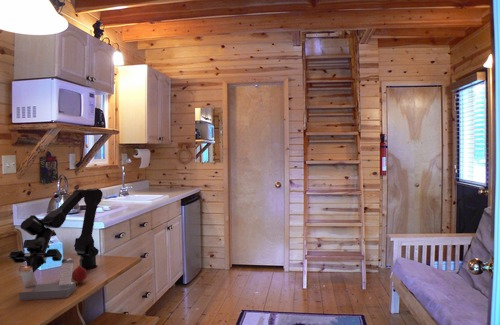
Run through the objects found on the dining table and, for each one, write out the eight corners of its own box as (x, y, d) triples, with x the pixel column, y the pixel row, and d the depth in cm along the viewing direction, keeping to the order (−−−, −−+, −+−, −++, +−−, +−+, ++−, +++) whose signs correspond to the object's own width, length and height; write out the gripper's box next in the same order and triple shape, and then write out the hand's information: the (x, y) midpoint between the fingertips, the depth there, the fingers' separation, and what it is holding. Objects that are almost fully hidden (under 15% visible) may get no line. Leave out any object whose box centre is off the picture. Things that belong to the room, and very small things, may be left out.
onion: (83, 279, 156) (82, 262, 156) (89, 282, 153) (88, 264, 152) (70, 283, 152) (69, 265, 152) (76, 286, 148) (75, 268, 148)
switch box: (30, 292, 144) (30, 284, 143) (75, 289, 145) (75, 281, 145) (19, 300, 136) (19, 291, 135) (67, 297, 137) (67, 289, 137)
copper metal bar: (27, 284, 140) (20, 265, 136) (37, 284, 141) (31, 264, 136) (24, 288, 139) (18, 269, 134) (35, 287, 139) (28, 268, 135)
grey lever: (60, 284, 141) (64, 259, 145) (71, 284, 142) (74, 258, 145) (58, 284, 140) (61, 259, 143) (69, 284, 140) (72, 258, 143)
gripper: (10, 231, 142) (-7, 267, 132) (57, 229, 144) (45, 264, 133) (22, 245, 150) (7, 280, 140) (67, 243, 152) (56, 277, 141)
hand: (28, 275), depth 138 cm, fingers closed, pressing on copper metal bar
